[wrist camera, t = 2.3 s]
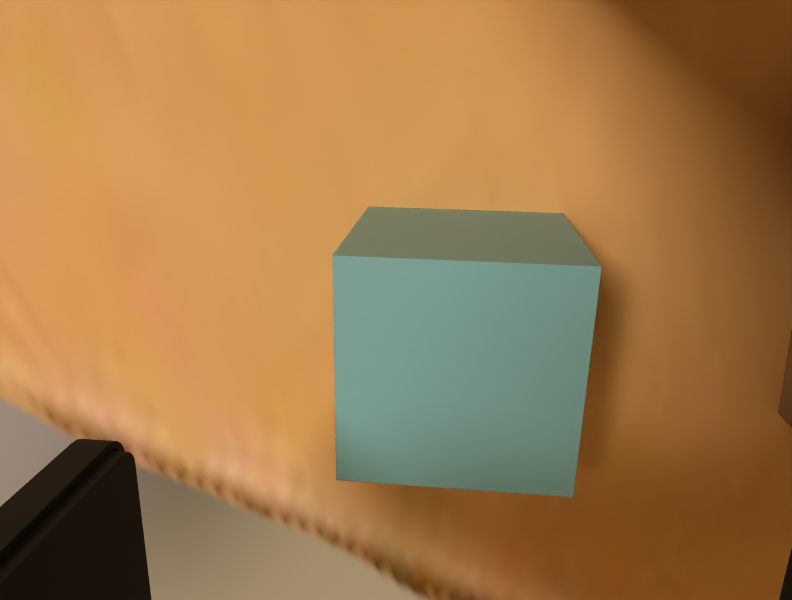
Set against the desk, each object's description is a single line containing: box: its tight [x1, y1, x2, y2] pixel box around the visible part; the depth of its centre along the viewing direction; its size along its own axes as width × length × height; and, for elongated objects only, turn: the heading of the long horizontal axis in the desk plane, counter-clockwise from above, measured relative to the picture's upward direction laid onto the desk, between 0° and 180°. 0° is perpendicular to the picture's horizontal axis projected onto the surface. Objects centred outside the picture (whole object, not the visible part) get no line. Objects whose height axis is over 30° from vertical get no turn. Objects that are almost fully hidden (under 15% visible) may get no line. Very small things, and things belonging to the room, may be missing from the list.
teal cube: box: [333, 207, 602, 497], centre depth 15 cm, size 5×5×5 cm
